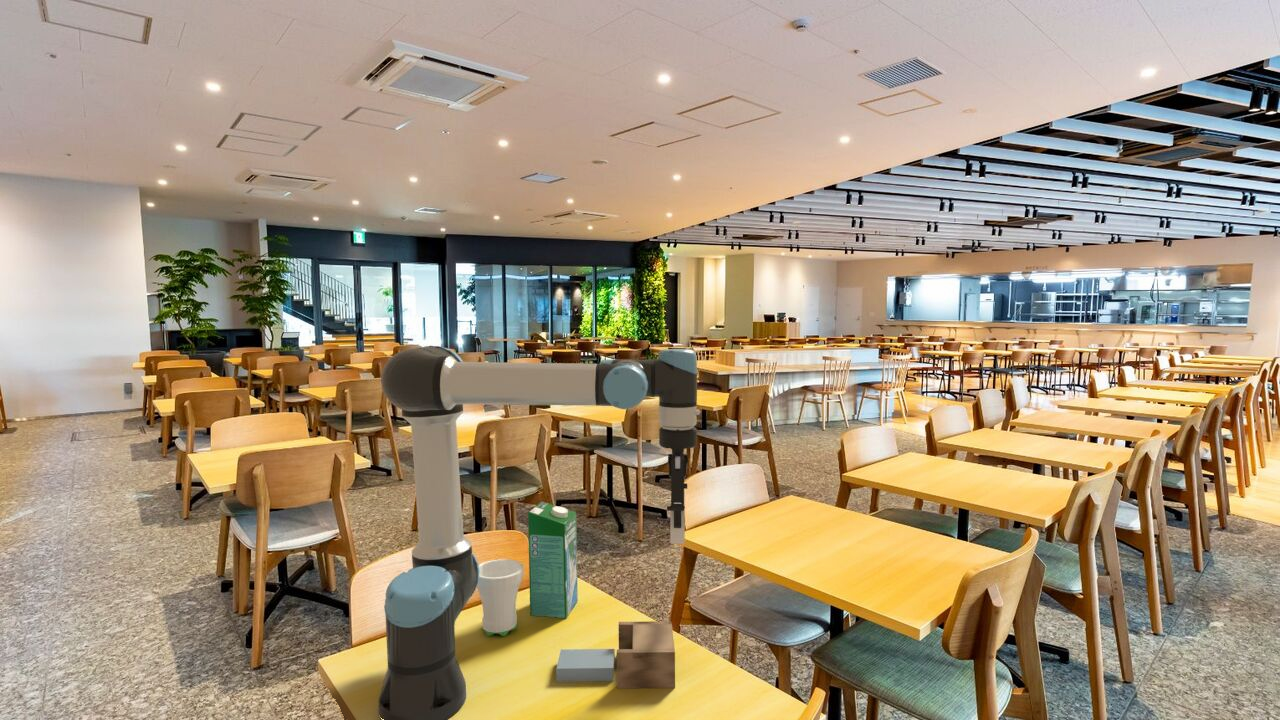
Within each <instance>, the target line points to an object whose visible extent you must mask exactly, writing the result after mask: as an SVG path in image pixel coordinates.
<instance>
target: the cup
mask: <svg viewBox="0 0 1280 720" xmlns="http://www.w3.org/2000/svg"><path fill="white" fill-rule="evenodd" d="M478 564H479V563H478ZM524 568H525V567H524V564H523V563H522V562H520V561H518V560H514V559H510V558H499V559H492V560H488V561H487V560H486V561H484V562H481V563H480V564H479V579H478V584H477V587H476V589H477V591H478V594H479V598H480V600H481V604H482V614H483V616H482V623H481V625H482V629H483V630H484V632H485V634H486V635H487V636H488V637H492V636H494V635H495V634H498V635H500V636H501V637H506V636H507V635H508V634H509V632H510V631H515V630H517V625H518V615H517V612H516V610H517V607H516V605H517V597H518V592H519V588H520V586H521V582H522V581H523V578H524V576H525V575H524Z"/></svg>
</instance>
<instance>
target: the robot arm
mask: <svg viewBox="0 0 1280 720" xmlns="http://www.w3.org/2000/svg"><path fill="white" fill-rule="evenodd" d="M658 353H659V354H658V356H657V357H658V358H654V359H627V358H626V359H621V358H620V359H619V358H614V359H613V358H612V359H604V360H601V361H600V362H599V363H568V362H567V363H566V362H563V363H562V362H559V363H558V362H557V363H555V362H554V363H553V362H498V361H497V362H492V361H491V362H486V361H464V360H463V358H462V357H460V356H459V355H458V354H457V352H455V351H453V350H452V349H449V348H447V347H445V346H444V347H443V346H439V345H429V346H428V345H426V346H421V347H420V346H419V347H416V348H408V349H403V350H402V351H399V352H397V353H396V354H394V355H393V356H391V357H390V358H389V359H388V360H387V362H386V363H385V364H384V367H383V368H382V371H381V372H382V373H381V375H380V384H381V389H382V392H383V395H384V396H385V397H386V399H387V400H388V401H389V402H390V404H392V405H393V406H394V407H397V408H398V409H399V410H401V416H402V418H403V419H404V420H405V421H406V422H407V423H409V424H410V429H411V441H412V443H411V444H412V455H413V456H412V457H413V472H414V484H415V485H414V487H415V499H416V500H415V502H416V503H415V504H416V515H417V516H416V517H417V529H418V530H417V531H418V542H417V544H416V545H415V546H414V548H412V550H411V563H412V568H410V569H408V570H407V571H406V572H405V571H403V572H401V573H400V574H398V575H397V576H395V577H394V578H393V579H392V580H391V581H390V583H389V584H388V586H387V588H386V591H385V600H384V605H383V607H384V613H385V631H386V655H387V670H386V673H385V676H384V680H383V683H382V687H381V690H380V693H379V696H378V716H379V715H380V717H381V718H382V719H384V720H448V719H449V718H451V717H452V716H454V715H455V714H456V713H457V712H458V711H460V709H461V708H462V707H463V706H464V704H465V702H466V699H467V683H466V679H465V677H464V675H463V672H462V669H461V666H460V664H459V662H458V659H457V656H456V639H455V638H456V637H455V636H456V633H455V631H456V630H455V628H456V627H455V624H456V621H457V619H458V617H459V615H460V614H461V613H462V611H463V609H465V608H464V607H466V605H467V603H468V601H470V598H472V596H473V595H474V593H475V591H476V589H477V584H478V579H479V561H478V559H477V557H476V555H475V554H474V553H473V545H472V541H471V540H470V539H468V537H466V536H465V535H464V526H463V525H464V523H463V521H464V520H463V510H462V509H463V508H462V495H461V493H462V492H461V479H460V478H461V476H460V462H459V461H460V460H459V448H458V447H459V446H458V444H459V443H458V433H457V432H458V431H457V420H458V418H459V417H460V416H461V415H462V414H463V413H464V405H494V406H495V405H497V406H500V405H503V406H505V405H507V406H510V405H512V406H523V405H524V406H596V407H597V406H602V407H614V408H617V409H619V410H630V409H634V408H635V407H637V406H639V405H640V404H641V403H642V402H643V401H644V399H645V398H658V399H659V401H658V424H659V426H661V427H660V428H659V429H658V430H659V431H658V435H659V436H658V441H659V443H658V445H659V446H660V447H661V448H664V449H671V451H672V452H671V453H668V454H667V455H668V457H667V465H668V477H669V478H670V479H671V480H670V482H671V483H670V487H671V488H670V491H671V492H670V505H667V506H666V511H667V512H670V515H669V516H670V517H669V518H670V522H669V523H670V525H669V527H670V529H669V530H670V532H669V533H670V535H669V536H670V537H669V538H670V544H671V545H672V544H673V545H674V544H675V545H685V543H686V541H685V539H686V538H685V537H686V536H685V533H686V531H685V528H686V525H685V523H686V522H685V521H686V519H685V517H686V514H685V513H686V512H685V511H686V510H685V508H686V507H685V502H686V501H685V489H688V483H685V480H686V479H687V475H688V474H687V467H688V466H689V465H688V464H689V455H688V454H687V453H685V450H686V449H693V448H695V447H696V446H697V444H698V430H697V428H696V427H695V426H696V425H697V423H698V422H697V416H699V415H700V414H701V411H700V410H699V409H697V408H698V407H697V405H698V403H697V402H698V374H699V372H698V367H697V366H698V361H697V354H696V352H695V351H694V350H693V349H689V348H671V349H670V348H669V349H667V348H665V349H661V350H660V351H659V352H658ZM380 717H379V718H380Z"/></svg>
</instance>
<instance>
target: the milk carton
mask: <svg viewBox="0 0 1280 720" xmlns="http://www.w3.org/2000/svg"><path fill="white" fill-rule="evenodd" d="M527 517H528V518H527V519H528V520H527V521H528V523H527V524H528V525H527V526H528V527H527V528H528V529H527V530H528V565H529V566H528V567H529V568H528V569H529V570H528V571H529V572H528V574H529V578H528V579H529V615H530V616H533V615H535V616H534V617H544V616H547V617H546V618H555V617H557V618H556V619H567V618H568V617H569V615H570V614H571V612H572V611H573V609H574V608H575V606H576V605H577V603H578V602H577V601H578V550H577V549H578V544H577V543H578V541H577V536H578V535H577V534H578V533H577V532H578V531H577V512H576V511H573V510H571V509H568V508H566V507H564V506H557V505H554V504H551V503H549V502H548V503H547V502H545V501H541V502H539V503H538V504H537V505H536V506H534V507H533V508H532V509H530V511H528V512H527ZM576 602H577V603H576ZM575 604H576V605H575ZM574 605H575V606H574ZM573 607H574V608H573ZM572 608H573V609H572ZM571 610H572V611H571ZM569 613H570V614H569ZM567 616H568V617H567Z"/></svg>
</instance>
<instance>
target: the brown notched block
mask: <svg viewBox="0 0 1280 720" xmlns="http://www.w3.org/2000/svg"><path fill="white" fill-rule="evenodd" d="M674 641H675V639H674V631H673V622H672V621H671V620H670V621H668V620H667V621H666V620H665V621H663V620H662V621H658V620H657V621H655V620H654V621H618V649H616V688H617V689H674V688H675V689H676V651H675V642H674Z"/></svg>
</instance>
